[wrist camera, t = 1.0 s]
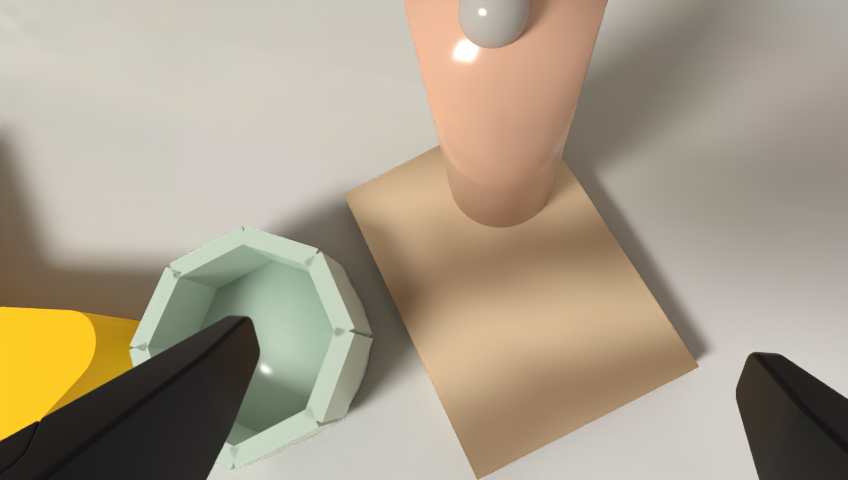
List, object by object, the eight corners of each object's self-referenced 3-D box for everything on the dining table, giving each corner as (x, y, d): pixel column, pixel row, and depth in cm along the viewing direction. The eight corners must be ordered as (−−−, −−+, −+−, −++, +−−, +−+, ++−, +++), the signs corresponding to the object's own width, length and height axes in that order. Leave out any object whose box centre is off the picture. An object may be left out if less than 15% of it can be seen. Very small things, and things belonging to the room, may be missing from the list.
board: (689, 367, 21) (699, 366, 20) (478, 475, 21) (477, 479, 20) (524, 111, 25) (525, 100, 24) (349, 201, 25) (343, 194, 24)
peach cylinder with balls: (573, 197, 22) (673, -41, 10) (479, 245, 22) (455, 73, 10) (520, 115, 24) (548, -185, 11) (432, 161, 24) (358, -86, 11)
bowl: (402, 390, 22) (383, 393, 18) (224, 481, 22) (170, 502, 18) (327, 223, 25) (297, 197, 21) (169, 304, 25) (113, 292, 21)
